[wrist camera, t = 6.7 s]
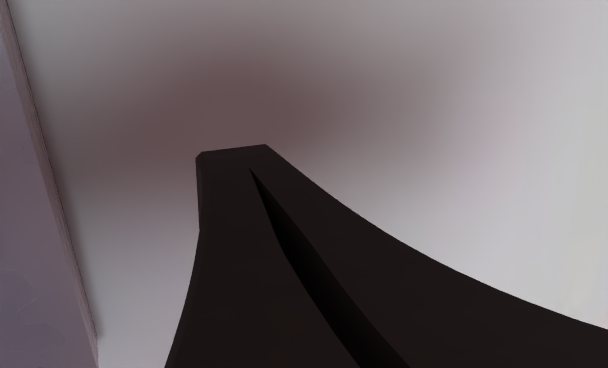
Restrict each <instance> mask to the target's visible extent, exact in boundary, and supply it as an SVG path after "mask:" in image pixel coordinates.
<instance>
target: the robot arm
mask: <svg viewBox="0 0 608 368" xmlns="http://www.w3.org/2000/svg"><path fill="white" fill-rule="evenodd" d="M195 159H196V176H197V194H198V211H199V229H200V231H199V237H198V243H197V249H196V255H195V261H194V266H193V271H192V275H191V280H190V284H189V288H188V292H187V296H186V300H185V304H184V307H183V311H182V315H181V318H180V321H179V324H178V328H177V331H176V334H175V337H174V340H173V344H172V347H171V350H170V353H169V356H168V359H167V361H166V364H165V367H164V368H608V329H604V328H601V327H598V326H595V325H592V324H588V323H585V322H582V321H579V320H576V319H573V318H570V317H567V316H565V315H562V314H559V313H557V312H554V311H551V310H549V309H546V308H543V307H541V306H538V305H535V304H533V303H530V302H527V301H525V300H522V299H520V298H517V297H515V296H512V295H510V294H507V293H505V292H503V291H500V290H498V289H495V288H493V287H491V286H489V285H486V284H484V283H482V282H480V281H478V280H476V279H473V278H471V277H469V276H467V275H465V274H462V273H460V272H458V271H456V270H454V269H452V268H450V267H448V266H446V265H444V264H442V263H440V262H438V261H436V260H434V259H432V258H430V257H428V256H426V255H425V254H423V253H421V252H419V251H417V250H415V249H414V248H412V247H410V246H408V245H406V244H405V243H403V242H401V241H399V240H397V239H396V238H394V237H392V236H391V235H389V234H387V233H386V232H384V231H383V230H381V229H379V228H378V227H376V226H375V225H373V224H372V223H370V222H369V221H367V220H366V219H364V218H363V217H361V216H360V215H358V214H356V213H355V212H354V211H352V210H351V209H349V208H348V207H346V206H345V205H344V204H342V203H341V202H339V201H338V200H337V199H335V198H334V197H332V196H331V195H330V194H328V193H327V192H326V191H324V190H323V189H322V188H320V187H319V186H318V185H316V184H315V183H314V182H313V181H311V180H310V179H309V178H307V177H306V176H305V175H304V174H302V173H301V172H300V171H299V170H297V169H296V168H295V167H294V166H292V165H291V164H290V163H289V162H287V161H286V160H285V159H284V158H282V157H281V156H280V155H279V154H277V153H276V152H275V151H274V150H272V149H271V148H270V147H269V146H267V145H266V144H262V145H254V146H246V147H238V148H230V149H222V150H213V151H205V152H201V153H200V154H199V155H198V156H197V157H196V158H195Z"/></svg>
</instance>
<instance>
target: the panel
mask: <svg viewBox="0 0 608 368" xmlns="http://www.w3.org/2000/svg"><path fill="white" fill-rule="evenodd" d="M0 368H99V367H98V346H97V336H96V332H95V328H94V325H93V321H92V317H91V314H90V310H89V306H88V302H87V299H86V295H85V291H84V288H83V284H82V280H81V276H80V273H79V269H78V265H77V261H76V258H75V254H74V250H73V247H72V243H71V239H70V235H69V232H68V228H67V224H66V221H65V217H64V213H63V209H62V206H61V202H60V198H59V195H58V191H57V187H56V183H55V180H54V176H53V172H52V168H51V165H50V161H49V157H48V154H47V150H46V146H45V142H44V139H43V135H42V131H41V128H40V124H39V120H38V116H37V113H36V109H35V105H34V101H33V98H32V94H31V90H30V87H29V83H28V79H27V75H26V72H25V68H24V64H23V61H22V57H21V53H20V49H19V46H18V42H17V38H16V35H15V31H14V27H13V23H12V20H11V16H10V12H9V8H8V5H7V1H6V0H0Z"/></svg>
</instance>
